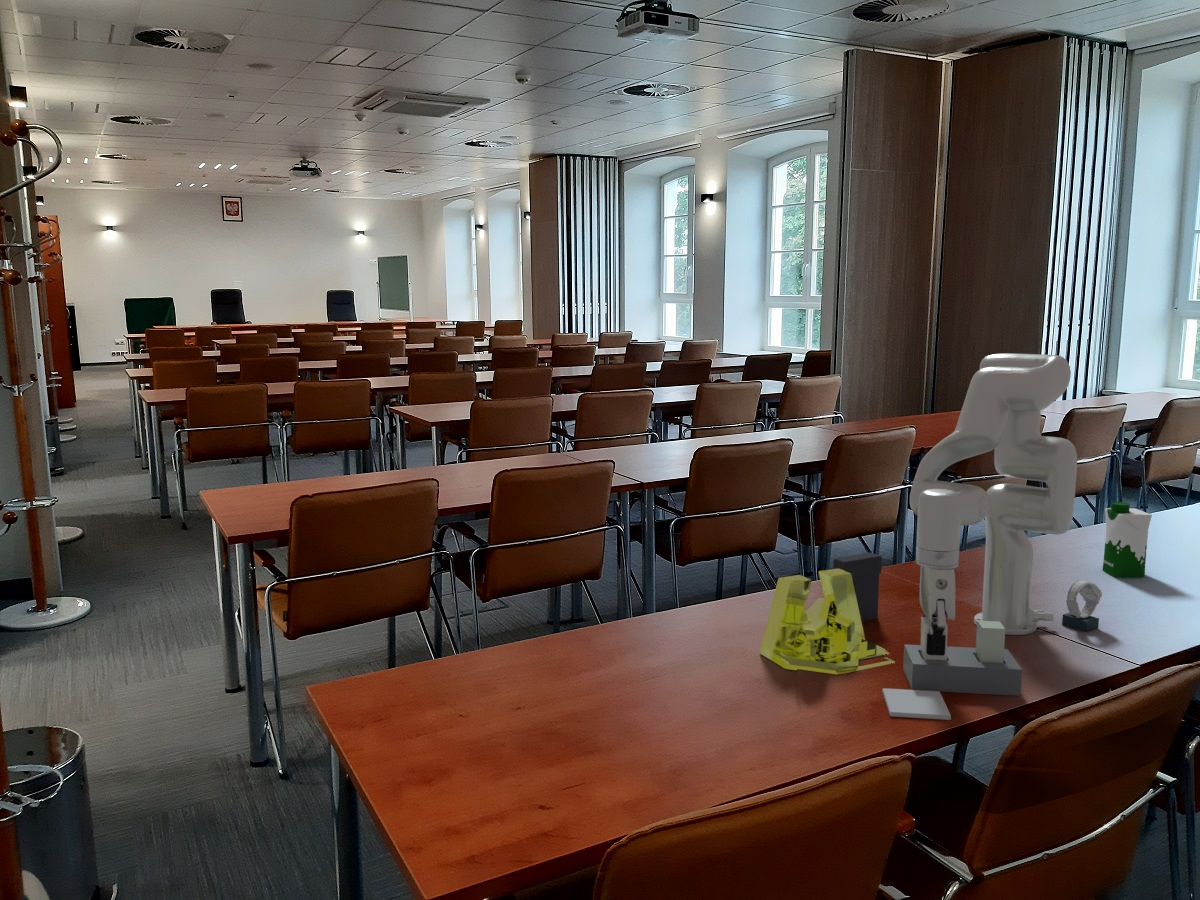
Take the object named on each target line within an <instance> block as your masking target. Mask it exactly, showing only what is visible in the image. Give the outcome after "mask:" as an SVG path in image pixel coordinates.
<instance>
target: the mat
mask: <svg viewBox="0 0 1200 900" xmlns="http://www.w3.org/2000/svg"><path fill="white" fill-rule="evenodd" d="M882 696H883V698H884V701H885V704H886V708H887V710H888V714H889V716H890V717H894V718H895V717H897V718H914V719H928V720H929V719H931V720H944V721H945V720H946V721H947V720H948V721H951V720H952V715H951V713H950V711H949V709H948V707H947V704H946V702H945V700H944V697H943V696H942V693H941V691H926V690H912V689H903V688H902V689H901V688H900V689H899V688H882Z"/></svg>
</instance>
